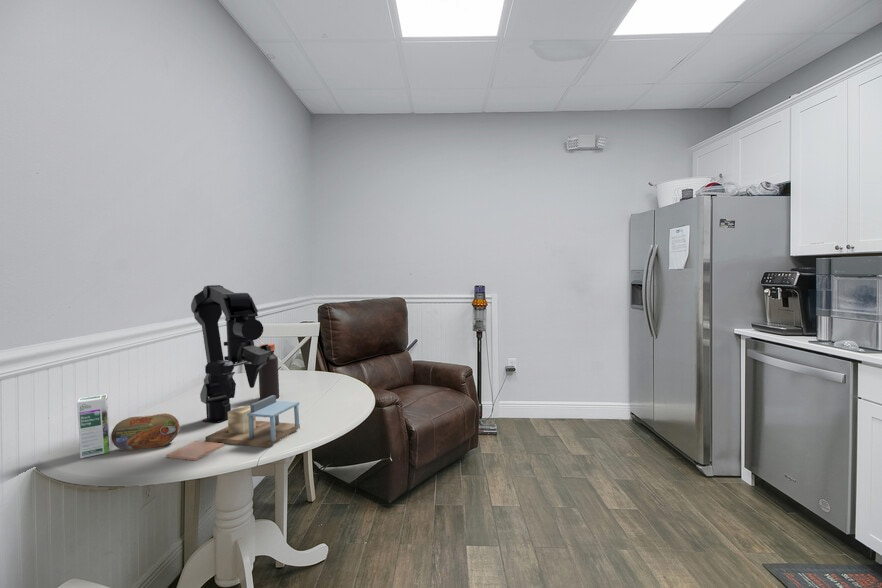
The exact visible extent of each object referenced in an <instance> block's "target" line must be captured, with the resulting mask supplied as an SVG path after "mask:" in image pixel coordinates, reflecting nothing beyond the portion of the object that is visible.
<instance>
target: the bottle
mask: <svg viewBox="0 0 882 588" xmlns="http://www.w3.org/2000/svg"><path fill="white" fill-rule="evenodd" d="M265 344H266V343H264V344H261V345H259V346H260V347H261V346H262V345H265ZM267 344H268V345H270V347H271V356H269V361H266V364H265V365H263V366H262V367H261V368H260V370H259V373H258V390H259V401H260V400H262V399H265V398H267V397H269V396H272V395H276V400H277V399H278V398H280V383H279V359H278V356H277V355H276V354H275V348H276V347H275V346H276V345H275V344H274V343H267Z"/></svg>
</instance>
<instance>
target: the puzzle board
mask: <svg viewBox="0 0 882 588" xmlns="http://www.w3.org/2000/svg"><path fill="white" fill-rule="evenodd" d="M300 424H301V423H299V426H298V427H295V423H292V422H291V423H289V422H280V421H279V425H275V432H276V440H275V441H271V430H270V421H268V420H267V421H266V420H256V428H255V429H254V438H253V439H249V432H247V433H245V434H235V433H229V431H228V426H226V427H224V428H221V429H219V430H218V431H215V432H213V433H211V434H209V435H206V436H205V440H204V441H205V442H208V441H210V442H213V443H218V442H222V443H223V444H228V443H231V444H230V445H238V444H240V446H250V447H261V448H269V447H271V446H273V445H275V444H276V443H278V442H279V441H281V440H283V439H284V438H286V437H287V435H288V436H289V435H291V434H293V433H294V432H296V431H298V430H299V429H301V425H300ZM298 428H299V429H298ZM297 429H298V430H297ZM295 430H296V431H295ZM292 432H293V433H292ZM290 433H291V434H290ZM285 436H286V437H285ZM282 438H283V439H282ZM280 439H281V440H280Z"/></svg>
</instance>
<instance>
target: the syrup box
mask: <svg viewBox="0 0 882 588" xmlns="http://www.w3.org/2000/svg"><path fill="white" fill-rule="evenodd" d="M108 402H109V401H108V393H103V394H97V395H93V396H92V395H91V396H84V397H79V398H78V400H77V402H76V408H77V422H78V423H77V424H78V425H77V426H78V435H79V457H80V459H85V458H89V457H95V456H99V455H104V454H108V453H110V449H111V438H110V437H111V436H110V419H109V418H110V417H109V406H108V405H109V403H108Z"/></svg>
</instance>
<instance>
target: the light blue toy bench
mask: <svg viewBox="0 0 882 588" xmlns="http://www.w3.org/2000/svg"><path fill="white" fill-rule="evenodd" d="M299 405H300V402H298V401H286V400H277V399H276V395H272V396H269V397H267V398H265V399H262V400H260V399H259V400H258V401H255V402H253V403H251V404H250V406H249V407H250V409H251V412H249V413H247V416H248V421H249V439H253V438H254V422H253V416H256V417H259V418H269V422H270V430H271V441H275V440H276V432H275V425H279V422H280V417H279V415H282V414H283V413H285V412H287V411H289V410H291V409H293V412H294V413H293V414H294V415H293V416H294V424H295V427H298V426H299V424H300V411H299V410H300V408H299Z"/></svg>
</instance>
